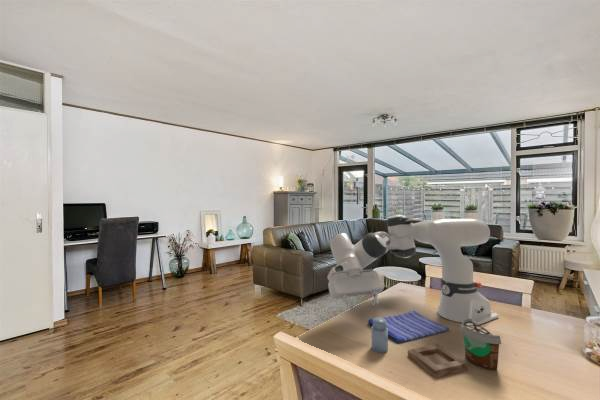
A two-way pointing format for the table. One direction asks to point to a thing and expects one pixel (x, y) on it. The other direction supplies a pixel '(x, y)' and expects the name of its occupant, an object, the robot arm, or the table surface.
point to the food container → (480, 345)
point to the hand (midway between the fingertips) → (363, 306)
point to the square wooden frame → (437, 360)
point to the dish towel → (410, 326)
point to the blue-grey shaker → (379, 335)
